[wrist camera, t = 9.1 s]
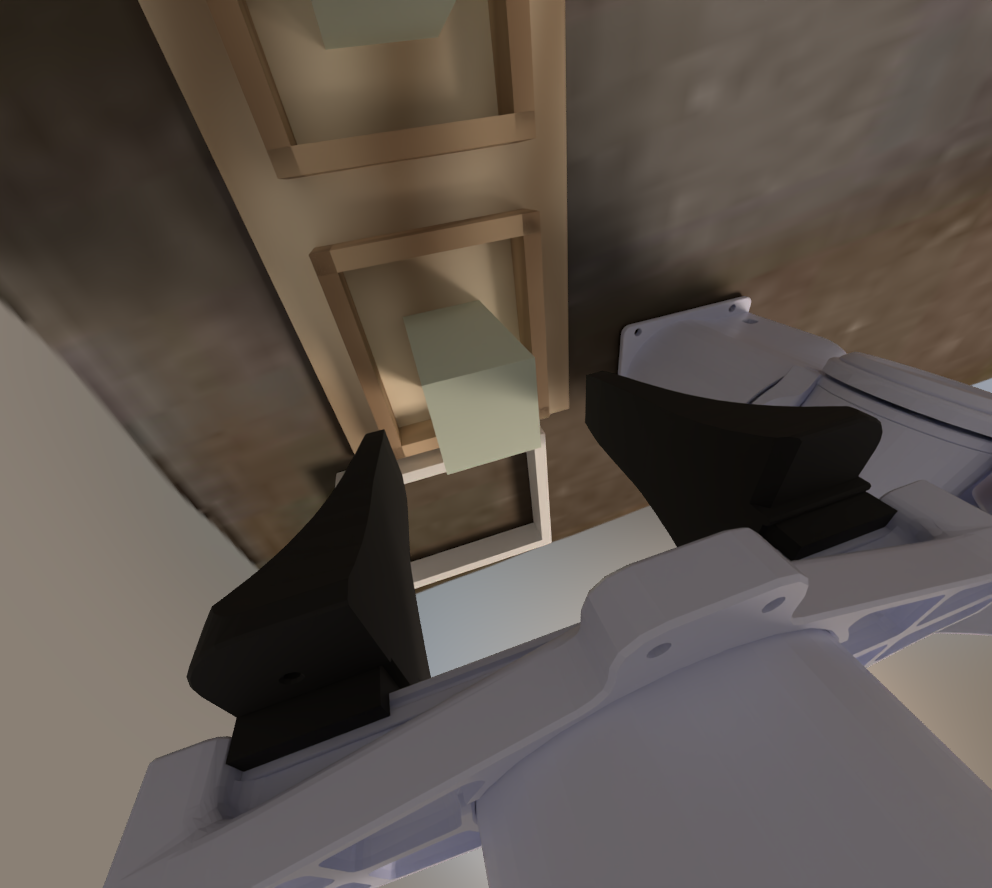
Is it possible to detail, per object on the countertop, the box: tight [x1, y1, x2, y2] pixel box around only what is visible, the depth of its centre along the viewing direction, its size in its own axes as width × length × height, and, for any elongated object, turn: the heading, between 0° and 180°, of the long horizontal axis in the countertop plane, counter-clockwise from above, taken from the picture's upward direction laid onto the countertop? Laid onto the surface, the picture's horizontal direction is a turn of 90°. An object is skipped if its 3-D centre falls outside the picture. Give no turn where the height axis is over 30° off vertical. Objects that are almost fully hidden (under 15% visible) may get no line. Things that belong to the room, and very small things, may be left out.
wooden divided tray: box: [138, 0, 569, 460], centre depth 15 cm, size 14×26×3 cm, turn 7°
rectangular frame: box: [335, 427, 552, 589], centre depth 27 cm, size 14×12×2 cm
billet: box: [403, 300, 541, 475], centre depth 17 cm, size 4×4×8 cm
